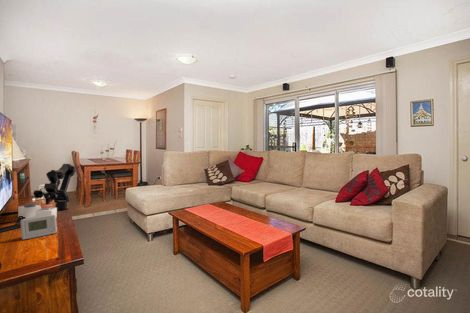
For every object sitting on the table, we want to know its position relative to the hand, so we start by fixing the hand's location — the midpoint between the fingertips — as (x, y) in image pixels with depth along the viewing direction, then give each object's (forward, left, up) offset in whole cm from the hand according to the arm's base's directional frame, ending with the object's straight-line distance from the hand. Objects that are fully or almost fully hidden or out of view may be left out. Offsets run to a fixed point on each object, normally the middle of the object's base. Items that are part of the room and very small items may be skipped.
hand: (46, 204), depth 168 cm
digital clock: (+23, +28, -11) cm, 38 cm away
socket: (0, -17, -10) cm, 20 cm away
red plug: (0, 0, -8) cm, 8 cm away
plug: (0, -17, -10) cm, 20 cm away
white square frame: (0, 0, -10) cm, 10 cm away
